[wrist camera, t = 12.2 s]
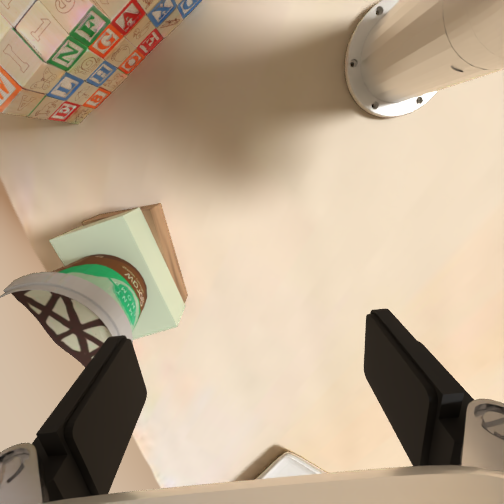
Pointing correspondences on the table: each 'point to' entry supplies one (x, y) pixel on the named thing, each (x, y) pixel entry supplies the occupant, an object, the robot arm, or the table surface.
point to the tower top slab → (136, 253)
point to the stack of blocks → (76, 51)
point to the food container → (84, 302)
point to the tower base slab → (157, 240)
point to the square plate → (289, 467)
